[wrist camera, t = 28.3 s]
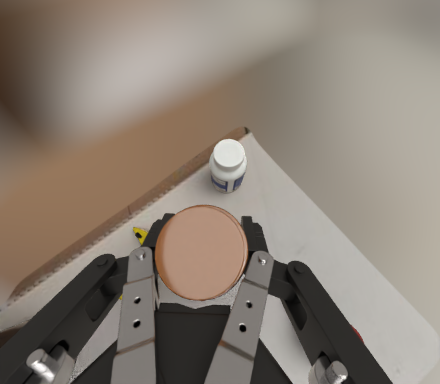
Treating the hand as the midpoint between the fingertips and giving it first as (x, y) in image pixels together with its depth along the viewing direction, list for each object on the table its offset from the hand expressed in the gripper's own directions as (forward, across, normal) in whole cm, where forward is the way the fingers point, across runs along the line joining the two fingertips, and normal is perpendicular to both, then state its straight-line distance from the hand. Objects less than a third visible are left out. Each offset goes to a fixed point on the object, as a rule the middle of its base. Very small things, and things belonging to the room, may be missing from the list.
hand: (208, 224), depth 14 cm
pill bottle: (+18, -2, +4) cm, 19 cm away
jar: (+2, 0, +4) cm, 5 cm away
